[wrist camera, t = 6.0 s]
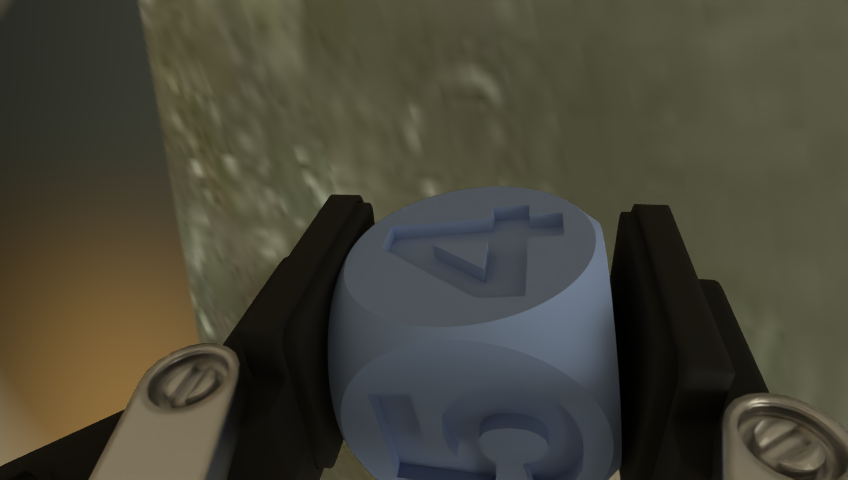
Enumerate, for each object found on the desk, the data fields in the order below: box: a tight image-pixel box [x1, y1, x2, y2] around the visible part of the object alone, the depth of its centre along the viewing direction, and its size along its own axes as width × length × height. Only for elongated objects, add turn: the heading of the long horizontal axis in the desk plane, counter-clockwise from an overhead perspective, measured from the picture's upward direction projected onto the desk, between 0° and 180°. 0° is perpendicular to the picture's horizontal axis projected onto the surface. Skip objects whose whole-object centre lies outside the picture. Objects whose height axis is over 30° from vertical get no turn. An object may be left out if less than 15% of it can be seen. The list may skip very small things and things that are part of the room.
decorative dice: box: [328, 187, 622, 480], centre depth 9 cm, size 4×4×4 cm
